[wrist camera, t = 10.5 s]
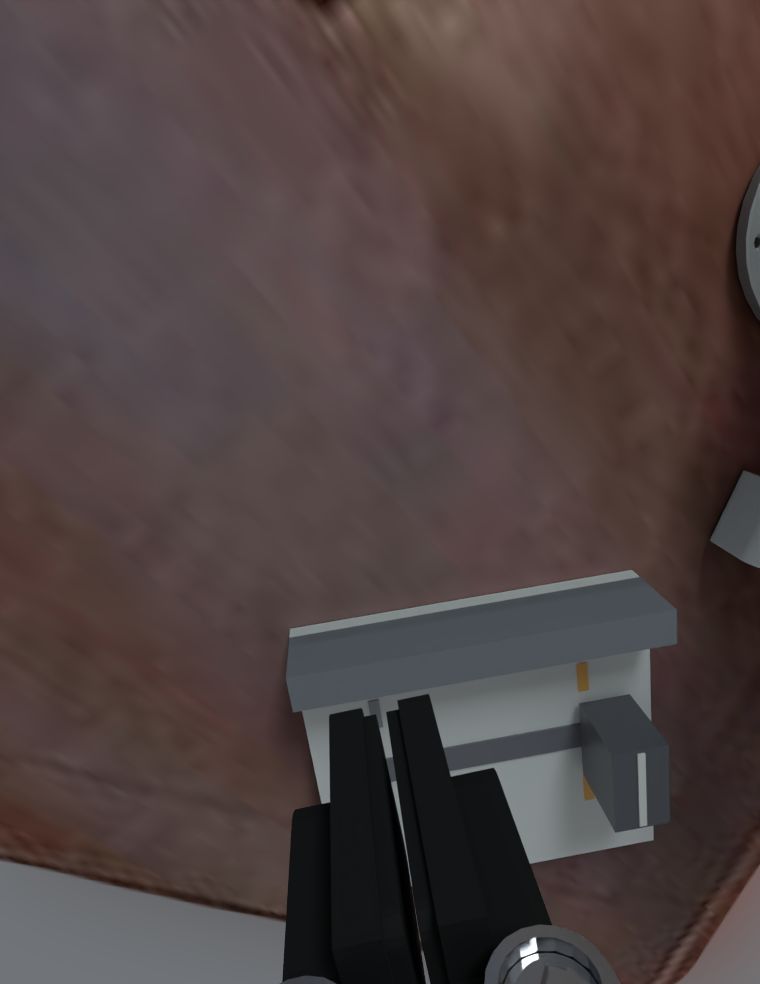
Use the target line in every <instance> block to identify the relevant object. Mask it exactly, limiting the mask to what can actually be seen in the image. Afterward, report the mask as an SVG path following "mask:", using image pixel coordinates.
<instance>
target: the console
mask: <svg viewBox="0 0 760 984" xmlns="http://www.w3.org/2000/svg"><path fill="white" fill-rule="evenodd" d="M674 644H677V609H676V608H675V607H673V606H672V605H671V604H670V603H669V602H668V601H667V600H665V599H664V598H663V597H662V596H661V595H660V594H659V593H658V592H656V591H655V590H654V589H653V588H652V587H651V586H650V585H648V584H647V583H646V582H645V581H644V580H643V579H642V578H640V577H639V576H638V575H637V574H636V573H635V572H634V571H633V570H628V571H622V572H616V573H610V574H604V575H599V576H593V577H587V578H581V579H576V580H570V581H564V582H558V583H552V584H547V585H541V586H535V587H529V588H524V589H518V590H512V591H506V592H500V593H495V594H489V595H483V596H477V597H471V598H466V599H460V600H454V601H448V602H443V603H437V604H431V605H425V606H419V607H414V608H408V609H402V610H396V611H390V612H385V613H379V614H373V615H367V616H362V617H356V618H350V619H344V620H338V621H333V622H327V623H321V624H315V625H309V626H304V627H298V628H292V629H290V635H289V647H288V658H287V669H286V682H287V687H288V691H289V696H290V701H291V705H292V710H293V712H299V711H302V713H303V718H304V723H305V727H306V732H307V737H308V742H309V746H310V751H311V756H312V760H313V765H314V770H315V775H316V779H317V784H318V789H319V794H320V798H321V803H322V804H324V803H329V802H330V762H329V715H330V714H334V713H339V712H344V711H348V710H353V709H358V708H362V710H363V713H364V717H365V716H369V715H374V714H376V716H377V720H378V724H379V729H380V733H381V738H382V743H383V747H384V752H385V756H386V761H387V766H388V770H389V775H390V779H391V784H392V789H393V793H394V798H395V802H396V807H397V812H398V816H399V821H400V825H401V830H402V834H403V839H404V844H405V849H406V842H405V835H404V829H403V822H402V815H401V809H400V802H399V795H398V788H397V782H396V775H395V768H394V762H393V755H392V748H391V742H390V735H389V728H388V722H387V715H386V712H389V711H393V710H398V709H399V708H398V702H397V700H401V699H406V698H411V697H416V696H420V695H425V694H429V696H430V699H431V703H432V707H433V711H434V714H435V718H436V722H437V726H438V730H439V733H440V737H441V741H442V745H443V749H444V752H445V756H446V760H447V764H448V768H449V771H450V775H451V777H452V776H456V775H461V774H466V773H470V772H475V771H480V770H485V769H489V768H494V769H495V770H496V772H497V775H498V777H499V780H500V783H501V785H502V788H503V791H504V794H505V797H506V799H507V802H508V805H509V808H510V810H511V813H512V816H513V819H514V821H515V824H516V827H517V830H518V832H519V835H520V838H521V841H522V844H523V846H524V849H525V852H526V855H527V857H528V860H529V863H530V864H531V863H536V862H541V861H547V860H552V859H557V858H562V857H568V856H573V855H578V854H583V853H588V852H594V851H599V850H604V849H609V848H615V847H620V846H625V845H630V844H635V843H641V842H646V841H651V840H654V835H653V826H649V827H643V828H638V829H633V830H628V831H622V832H617V833H615V831H614V830H613V828H612V826H611V824H610V822H609V820H608V819H607V817H606V815H605V813H604V811H603V810H602V808H601V806H600V804H599V802H598V800H597V799H596V797H595V795H594V793H593V791H592V790H591V788H590V786H589V784H588V782H587V780H586V779H585V777H584V775H583V763H582V746H581V730H580V713H579V703H583V702H589V701H594V700H600V699H605V698H611V697H616V696H622V695H627V694H630V695H631V696H632V698H633V699H634V700H635V701H636V703H637V704H638V705H639V707H640V708H641V709H642V710H643V712H644V713H645V714H646V716H647V717H648V718H649V719H650V721H651V689H650V649H652V648H658V647H663V646H669V645H674ZM406 855H407V849H406ZM407 861H408V855H407ZM408 867H409V862H408ZM409 874H410V869H409ZM410 880H411V875H410ZM411 886H412V882H411Z"/></svg>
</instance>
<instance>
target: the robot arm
mask: <svg viewBox="0 0 760 984" xmlns="http://www.w3.org/2000/svg"><path fill="white" fill-rule="evenodd" d="M754 241H755V245H754ZM736 258H737V267H738V276H739V279H740V282H741V286H742V289H743V292H744V295H745V298H746V300H747V302H748V303H749V305H750V307H751V309H752V311H753V312H754V314H755V316H756V317H757V318H758V320H759V321H760V165H759V167H758V169H757V170H756V172H755V174H754V175H753V178H752V180H751V183H750V185H749V188H748V190H747V193H746V195H745V198H744V200H743V204H742V209H741V213H740V217H739V221H738V226H737V240H736ZM397 702H398V708H399V709H398V710H393V711H389V712H386V715H387V722H388V728H389V735H390V742H391V748H392V755H393V762H394V768H395V775H396V782H397V788H398V795H399V802H400V809H401V815H402V822H403V829H404V835H405V842H406V849H407V855H408V861H407V855H406V849H405V844H404V839H403V834H402V830H401V825H400V821H399V816H398V812H397V807H396V802H395V798H394V793H393V789H392V784H391V779H390V775H389V770H388V766H387V761H386V756H385V752H384V747H383V743H382V738H381V733H380V729H379V724H378V720H377V716H376V714H374V715H369V716H365V717H364V713H363V710H362V708H358V709H353V710H348V711H344V712H339V713H334V714H330V715H329V762H330V802H329V803H324V804H320V805H315V806H310V807H305V808H301V809H296V810H295V811H294V813H293V818H292V830H291V847H290V864H289V881H288V897H287V914H286V931H285V948H284V964H283V981H282V983H281V984H426V982H425V975H424V968H423V961H422V955H421V948H420V941H419V934H418V928H417V921H416V915H417V920H418V926H419V931H420V937H421V942H422V947H423V951H424V956H425V960H426V965H427V969H428V974H429V978H430V983H431V984H621V983H620V981H619V979H618V978H617V976H616V974H615V973H614V971H613V969H612V968H611V966H610V964H609V963H608V962H607V960H606V959H605V958H604V956H603V955H602V954H601V953H600V951H599V950H598V949H597V948H596V946H594V945H593V944H592V943H590V942H589V941H588V940H586V939H585V938H584V937H582V936H581V935H579V934H578V933H575V932H573V931H570V930H568V929H565V928H562V927H560V926H552V924H551V921H550V918H549V915H548V913H547V910H546V907H545V904H544V902H543V899H542V896H541V893H540V891H539V888H538V885H537V882H536V879H535V877H534V874H533V871H532V868H531V866H530V863H529V860H528V857H527V855H526V852H525V849H524V846H523V844H522V841H521V838H520V835H519V832H518V830H517V827H516V824H515V821H514V819H513V816H512V813H511V810H510V808H509V805H508V802H507V799H506V797H505V794H504V791H503V788H502V785H501V783H500V780H499V777H498V775H497V772H496V770H495V769H494V768H489V769H485V770H480V771H475V772H470V773H466V774H461V775H456V776H452V777H451V775H450V771H449V768H448V764H447V760H446V756H445V752H444V749H443V745H442V741H441V737H440V733H439V730H438V726H437V722H436V718H435V714H434V711H433V707H432V703H431V699H430V696H429V694H425V695H420V696H416V697H411V698H406V699H401V700H397ZM408 862H409V867H408ZM409 869H410V874H409ZM410 875H411V880H410ZM411 882H412V887H411ZM412 889H413V894H412ZM413 895H414V901H413ZM414 902H415V907H414ZM415 908H416V914H415Z"/></svg>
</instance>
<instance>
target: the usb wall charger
mask: <svg viewBox="0 0 760 984" xmlns="http://www.w3.org/2000/svg"><path fill="white" fill-rule="evenodd" d="M710 541H711V542H713V543H714V544H716V545H717V546H719V547H721V548H722V549H724V550H725V551H727V552H729V553H730V554H732V555H733V556H735V557H737V558H738V559H740V560H742V561H743V562H746V563H748V564H750V565H752V566H755V567H758V568H760V475H757V474H754V473H751V472H748V471H745V470H743V472H742V474H741V476H740V478H739V480H738V482H737V484H736V486H735V489H734V491H733V493H732V495H731V497H730V499H729V501H728V503H727V505H726V507H725V509H724V511H723V513H722V515H721V517H720V519H719V522H718V524H717V526H716V528H715V530H714V532H713V534H712V536H711V538H710Z"/></svg>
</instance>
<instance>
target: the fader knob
mask: <svg viewBox="0 0 760 984" xmlns="http://www.w3.org/2000/svg"><path fill="white" fill-rule="evenodd" d="M579 713H580V730H581V746H582V763H583V775H584V777H585V779H586V780H587V782H588V784H589V786H590V788H591V790H592V791H593V793H594V795H595V797H596V799H597V800H598V802H599V804H600V806H601V808H602V810H603V811H604V813H605V815H606V817H607V819H608V820H609V822H610V824H611V826H612V828H613V830H614V831H615V833H617V832H622V831H628V830H633V829H638V828H643V827H649V826H654V825H659V824H664V823H670V771H669V744H668V743H667V741H666V740H665V739H664V737H663V736H662V735H661V734H660V732H659V731H658V730H657V728H656V727H655V726H654V725H653V723H652V722H651V721H650V719H649V718H648V717H647V716H646V714H645V713H644V712H643V710H642V709H641V708H640V707H639V705H638V704H637V703H636V701H635V700H634V699H633V698H632V696H631V695H630V694H627V695H622V696H616V697H611V698H605V699H600V700H594V701H589V702H583V703H579Z"/></svg>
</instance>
